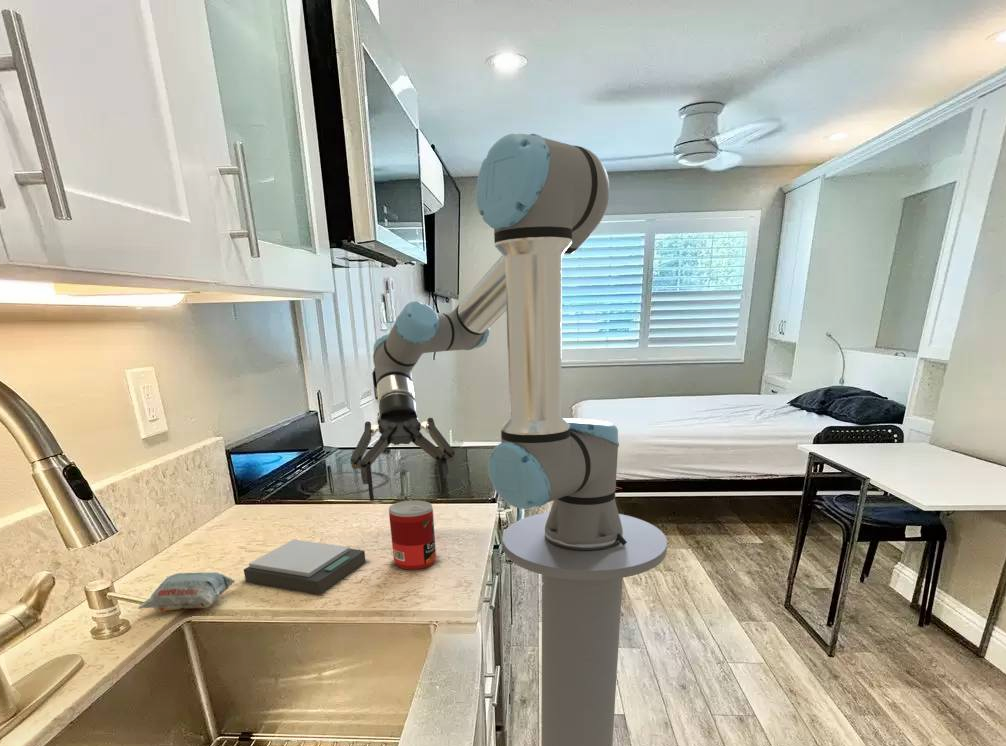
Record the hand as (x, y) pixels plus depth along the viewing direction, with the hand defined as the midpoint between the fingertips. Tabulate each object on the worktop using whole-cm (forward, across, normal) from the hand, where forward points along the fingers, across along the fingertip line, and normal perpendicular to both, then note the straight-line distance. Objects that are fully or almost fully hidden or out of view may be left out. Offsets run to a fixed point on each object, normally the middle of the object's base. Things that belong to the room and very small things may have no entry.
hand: (407, 494), depth 109 cm
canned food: (+13, 0, -4) cm, 13 cm away
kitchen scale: (+12, +20, -4) cm, 23 cm away
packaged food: (+18, +37, +2) cm, 42 cm away
